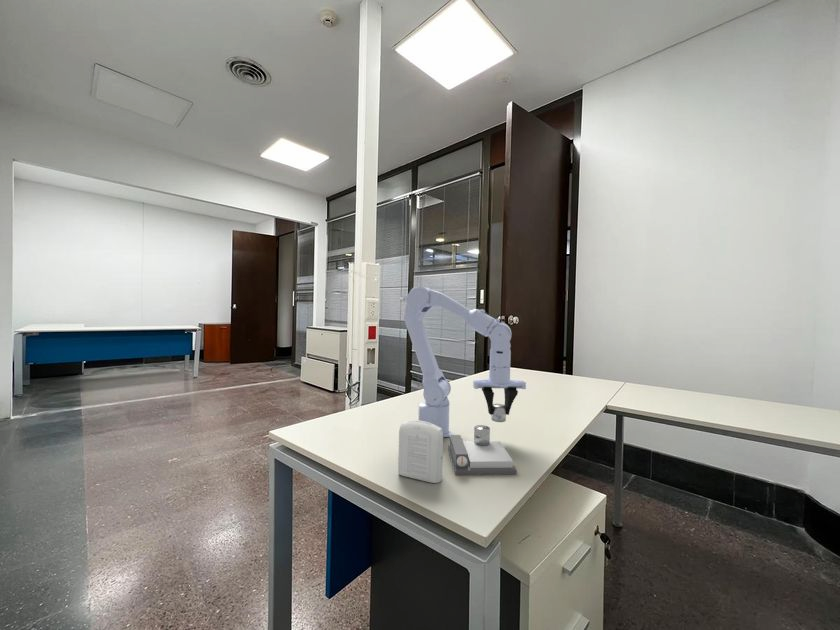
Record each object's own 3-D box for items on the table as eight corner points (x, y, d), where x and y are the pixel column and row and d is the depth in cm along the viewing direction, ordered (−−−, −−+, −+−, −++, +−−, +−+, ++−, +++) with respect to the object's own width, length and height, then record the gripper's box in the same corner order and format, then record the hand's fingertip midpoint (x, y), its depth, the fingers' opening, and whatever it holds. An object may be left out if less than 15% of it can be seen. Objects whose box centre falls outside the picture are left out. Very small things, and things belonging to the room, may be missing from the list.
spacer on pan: (475, 446, 83) (476, 430, 83) (472, 439, 87) (472, 425, 87) (491, 446, 83) (491, 430, 83) (487, 439, 87) (487, 425, 87)
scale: (455, 474, 74) (455, 456, 74) (448, 449, 87) (448, 433, 87) (516, 474, 74) (516, 456, 74) (500, 448, 87) (500, 433, 87)
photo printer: (445, 476, 73) (445, 421, 73) (439, 486, 69) (439, 428, 69) (403, 467, 77) (403, 415, 77) (395, 476, 73) (395, 421, 73)
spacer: (493, 422, 91) (493, 408, 91) (489, 417, 95) (489, 403, 95) (507, 422, 91) (507, 407, 91) (503, 417, 95) (503, 403, 95)
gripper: (477, 368, 88) (476, 418, 88) (530, 369, 89) (529, 418, 89) (472, 363, 95) (471, 409, 96) (521, 364, 96) (520, 410, 96)
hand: (498, 413), depth 93 cm, fingers closed on spacer, 4 cm apart
